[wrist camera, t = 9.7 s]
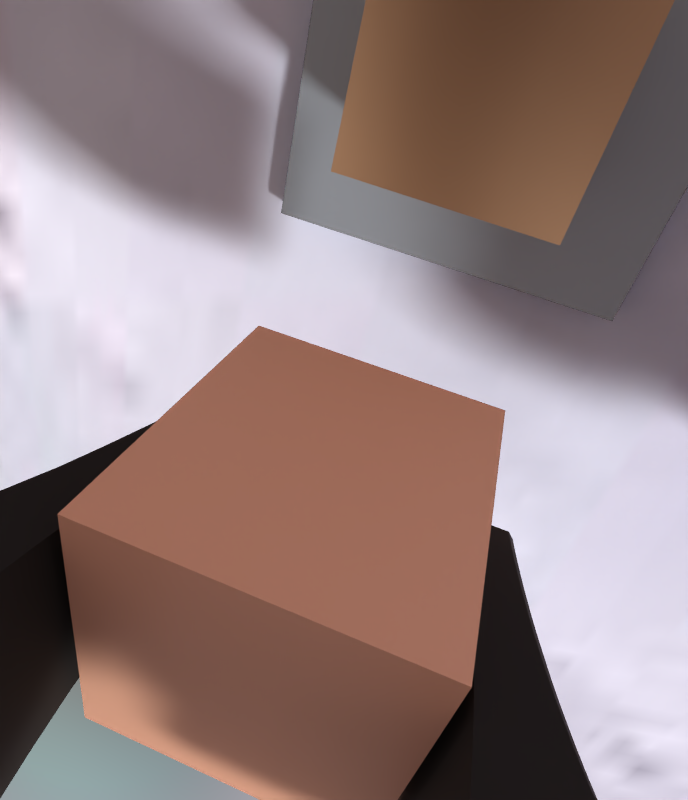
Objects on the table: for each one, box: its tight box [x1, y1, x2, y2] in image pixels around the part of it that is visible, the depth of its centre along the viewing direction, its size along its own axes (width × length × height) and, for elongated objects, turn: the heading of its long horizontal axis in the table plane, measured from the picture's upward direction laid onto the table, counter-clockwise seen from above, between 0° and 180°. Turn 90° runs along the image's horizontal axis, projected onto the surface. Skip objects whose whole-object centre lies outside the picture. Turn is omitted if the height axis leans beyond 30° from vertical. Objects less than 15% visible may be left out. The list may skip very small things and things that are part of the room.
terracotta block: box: [57, 326, 505, 800], centre depth 9 cm, size 4×4×5 cm
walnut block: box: [331, 0, 675, 245], centre depth 11 cm, size 4×4×5 cm
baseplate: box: [281, 0, 688, 321], centre depth 13 cm, size 10×10×1 cm
